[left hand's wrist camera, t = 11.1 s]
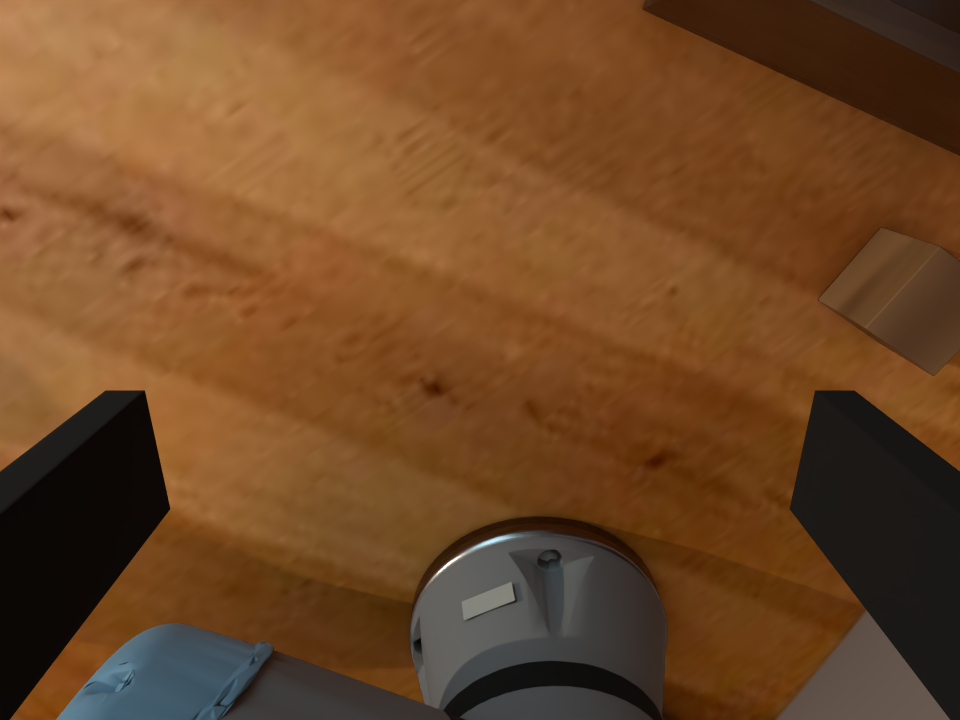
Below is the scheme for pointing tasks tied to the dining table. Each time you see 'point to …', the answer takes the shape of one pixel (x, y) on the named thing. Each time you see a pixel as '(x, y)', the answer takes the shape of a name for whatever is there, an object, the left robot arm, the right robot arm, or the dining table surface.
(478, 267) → the dining table surface
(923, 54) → the chest
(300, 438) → the dining table surface
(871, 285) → the block
